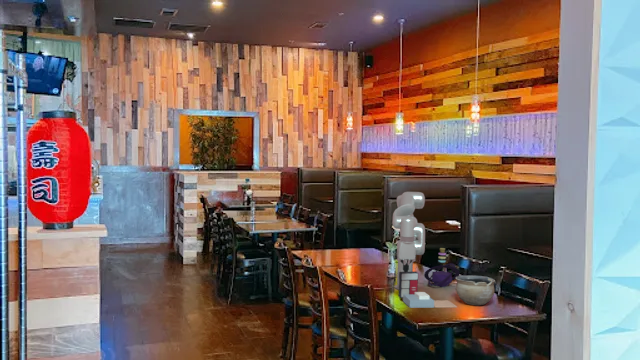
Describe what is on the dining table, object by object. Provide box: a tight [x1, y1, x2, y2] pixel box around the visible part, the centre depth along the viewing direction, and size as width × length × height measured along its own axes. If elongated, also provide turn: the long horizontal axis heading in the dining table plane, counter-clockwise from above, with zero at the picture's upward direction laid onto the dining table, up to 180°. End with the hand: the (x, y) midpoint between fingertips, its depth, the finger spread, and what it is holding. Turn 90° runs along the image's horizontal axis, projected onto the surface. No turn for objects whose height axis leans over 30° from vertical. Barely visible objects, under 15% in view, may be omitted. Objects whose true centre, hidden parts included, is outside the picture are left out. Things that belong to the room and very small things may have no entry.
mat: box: [433, 299, 458, 308], centre depth 322 cm, size 14×13×1 cm
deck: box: [402, 294, 435, 309], centre depth 320 cm, size 14×14×4 cm
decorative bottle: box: [423, 247, 460, 288], centre depth 370 cm, size 22×21×25 cm
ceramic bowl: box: [455, 275, 496, 306], centre depth 326 cm, size 22×22×15 cm
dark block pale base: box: [398, 271, 419, 299], centre depth 337 cm, size 11×4×15 cm, turn 101°
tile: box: [414, 291, 431, 299], centre depth 321 cm, size 9×6×2 cm, turn 7°
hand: (405, 271), depth 319 cm, fingers closed
